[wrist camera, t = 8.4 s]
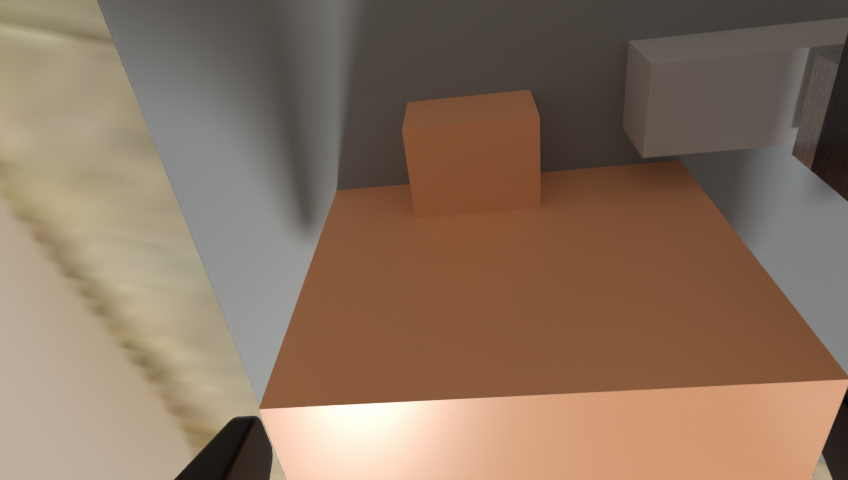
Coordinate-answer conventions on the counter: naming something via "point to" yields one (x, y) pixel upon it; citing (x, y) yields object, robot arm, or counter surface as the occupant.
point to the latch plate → (466, 76)
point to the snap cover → (540, 325)
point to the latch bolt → (826, 121)
